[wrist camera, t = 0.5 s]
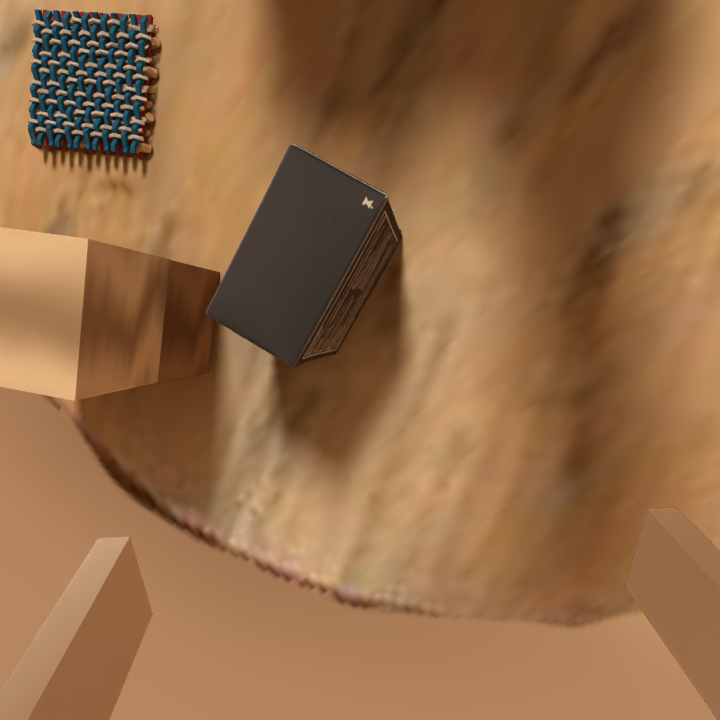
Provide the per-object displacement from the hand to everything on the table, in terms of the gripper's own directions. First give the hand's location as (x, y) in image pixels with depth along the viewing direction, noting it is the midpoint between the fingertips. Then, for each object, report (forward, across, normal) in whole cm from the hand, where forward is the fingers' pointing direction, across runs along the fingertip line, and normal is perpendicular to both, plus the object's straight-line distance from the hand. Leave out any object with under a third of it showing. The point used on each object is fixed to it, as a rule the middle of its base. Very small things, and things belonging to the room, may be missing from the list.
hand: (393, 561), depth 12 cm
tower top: (+21, -18, +1) cm, 28 cm away
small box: (+25, -2, +2) cm, 26 cm away
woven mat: (+34, -20, +15) cm, 42 cm away
